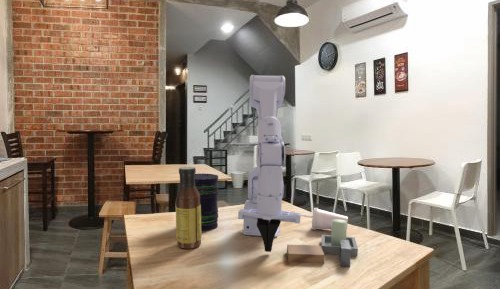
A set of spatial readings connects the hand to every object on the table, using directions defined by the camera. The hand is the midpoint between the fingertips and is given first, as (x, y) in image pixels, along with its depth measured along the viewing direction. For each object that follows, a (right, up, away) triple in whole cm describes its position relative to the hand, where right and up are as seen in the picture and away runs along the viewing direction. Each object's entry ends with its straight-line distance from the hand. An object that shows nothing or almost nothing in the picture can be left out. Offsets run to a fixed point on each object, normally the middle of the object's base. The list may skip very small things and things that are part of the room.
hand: (268, 250), depth 86 cm
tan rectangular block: (+8, -2, -2) cm, 9 cm away
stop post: (+17, -2, -3) cm, 18 cm away
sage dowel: (+18, -1, +5) cm, 18 cm away
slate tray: (+18, -1, +5) cm, 18 cm away
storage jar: (-19, +1, +21) cm, 28 cm away
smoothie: (+24, +3, +17) cm, 29 cm away
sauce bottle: (-20, -1, +5) cm, 20 cm away
